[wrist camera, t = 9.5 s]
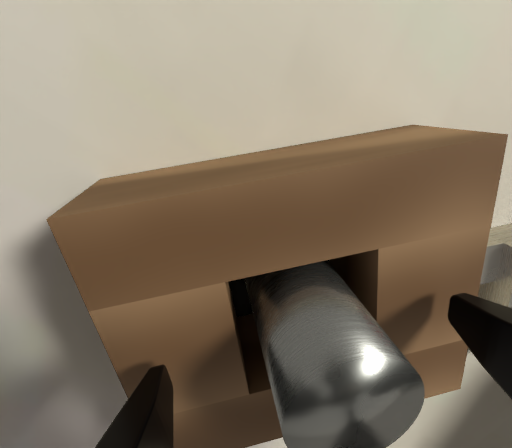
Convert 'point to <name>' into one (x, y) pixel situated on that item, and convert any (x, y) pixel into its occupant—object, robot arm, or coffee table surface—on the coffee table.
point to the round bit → (330, 362)
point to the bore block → (280, 260)
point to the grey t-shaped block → (498, 267)
